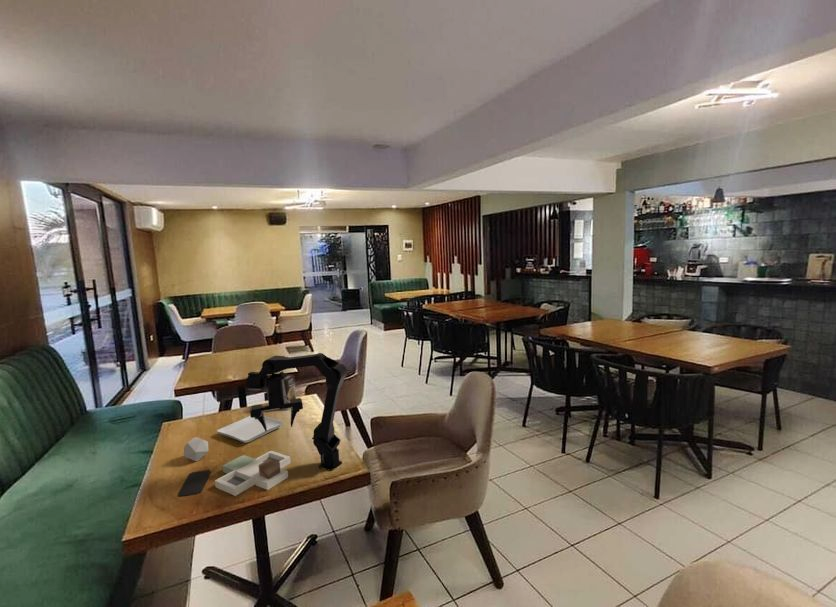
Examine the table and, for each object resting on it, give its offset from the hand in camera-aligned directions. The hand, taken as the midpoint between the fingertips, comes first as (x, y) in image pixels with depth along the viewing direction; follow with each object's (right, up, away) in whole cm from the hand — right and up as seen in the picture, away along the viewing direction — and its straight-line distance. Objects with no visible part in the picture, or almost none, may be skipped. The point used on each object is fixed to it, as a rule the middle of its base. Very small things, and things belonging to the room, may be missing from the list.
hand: (279, 428), depth 156 cm
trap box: (-6, -15, -7) cm, 17 cm away
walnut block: (+1, -13, -11) cm, 17 cm away
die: (-35, -14, +7) cm, 39 cm away
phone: (-26, -17, -11) cm, 33 cm away
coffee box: (-16, -7, +59) cm, 61 cm away
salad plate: (-23, -11, +30) cm, 39 cm away
